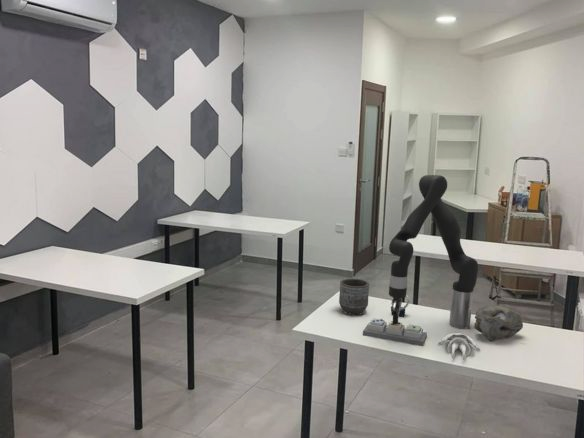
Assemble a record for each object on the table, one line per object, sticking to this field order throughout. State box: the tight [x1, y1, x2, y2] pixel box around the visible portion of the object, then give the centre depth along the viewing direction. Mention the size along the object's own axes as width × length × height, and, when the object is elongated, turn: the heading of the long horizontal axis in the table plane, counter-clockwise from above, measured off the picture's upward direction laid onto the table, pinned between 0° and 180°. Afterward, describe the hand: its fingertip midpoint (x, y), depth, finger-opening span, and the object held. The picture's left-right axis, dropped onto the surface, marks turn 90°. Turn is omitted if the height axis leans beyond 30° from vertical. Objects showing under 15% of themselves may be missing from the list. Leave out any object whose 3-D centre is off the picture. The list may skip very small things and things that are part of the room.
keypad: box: [362, 318, 428, 347], centre depth 226 cm, size 26×11×4 cm, turn 68°
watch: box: [398, 294, 410, 318], centre depth 252 cm, size 6×8×11 cm
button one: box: [407, 324, 422, 333], centre depth 223 cm, size 5×5×4 cm
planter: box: [338, 277, 370, 316], centre depth 254 cm, size 14×14×15 cm
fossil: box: [473, 304, 524, 342], centre depth 229 cm, size 14×22×15 cm, turn 123°
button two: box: [388, 320, 403, 330], centre depth 226 cm, size 5×5×4 cm
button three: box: [370, 317, 385, 326], centre depth 229 cm, size 5×5×4 cm
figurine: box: [437, 332, 481, 361], centre depth 215 cm, size 17×9×25 cm
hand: (395, 323), depth 226 cm, fingers closed
